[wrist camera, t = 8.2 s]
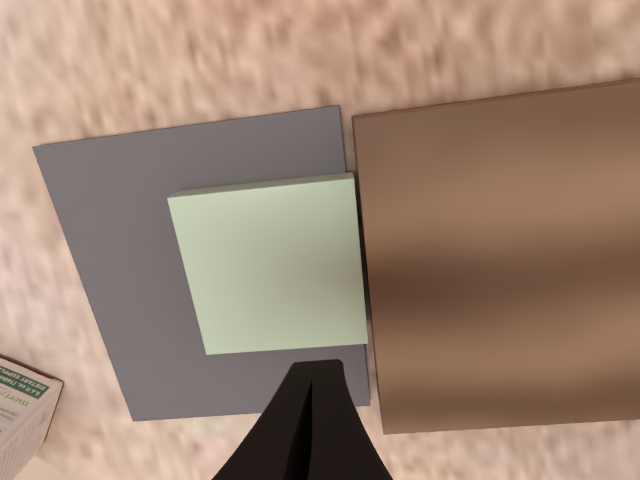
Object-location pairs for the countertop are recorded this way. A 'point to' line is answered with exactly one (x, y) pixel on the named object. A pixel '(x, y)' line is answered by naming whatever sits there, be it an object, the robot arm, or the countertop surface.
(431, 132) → the walnut board
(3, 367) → the syrup box
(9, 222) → the countertop surface
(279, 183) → the coaster
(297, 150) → the rubber mat
